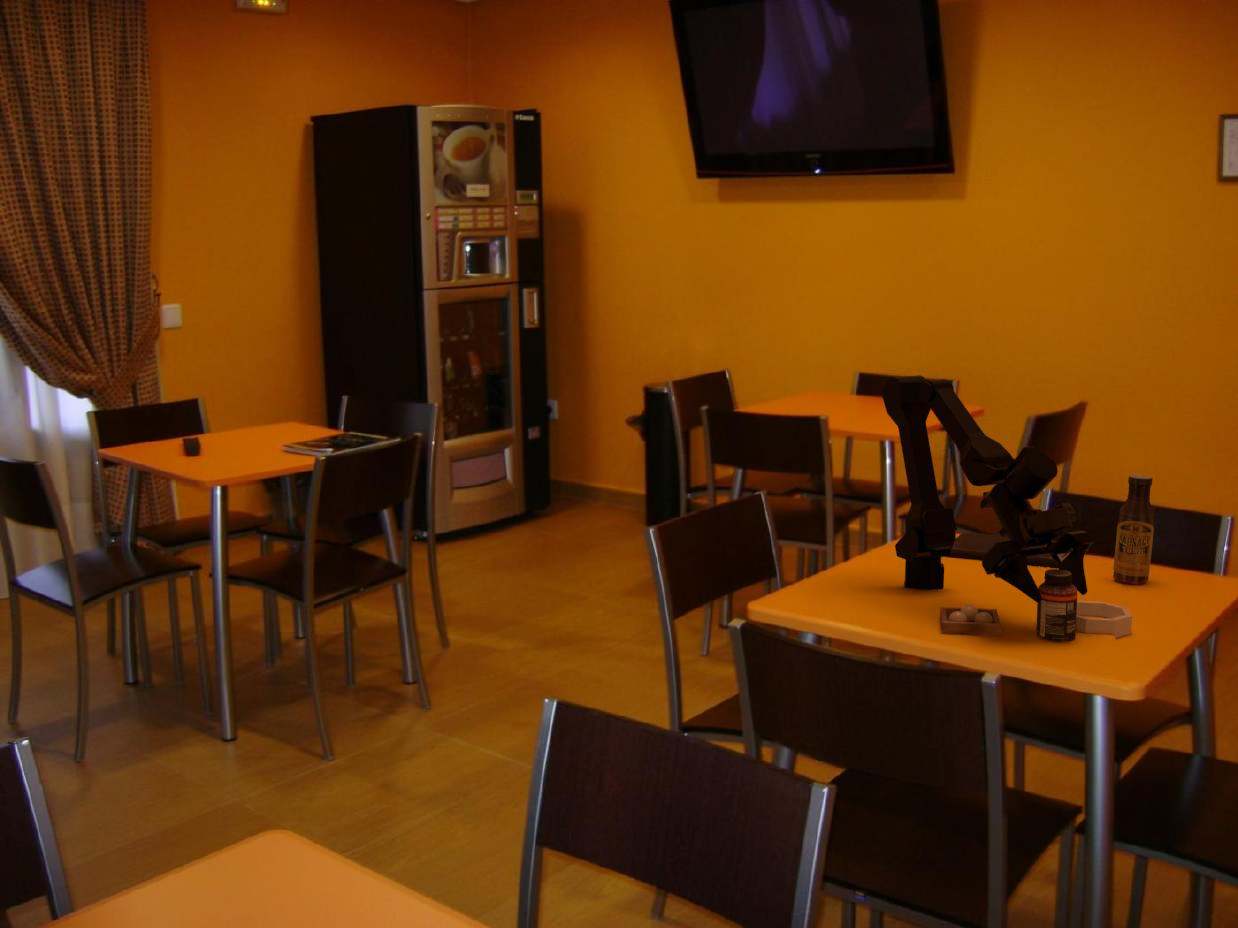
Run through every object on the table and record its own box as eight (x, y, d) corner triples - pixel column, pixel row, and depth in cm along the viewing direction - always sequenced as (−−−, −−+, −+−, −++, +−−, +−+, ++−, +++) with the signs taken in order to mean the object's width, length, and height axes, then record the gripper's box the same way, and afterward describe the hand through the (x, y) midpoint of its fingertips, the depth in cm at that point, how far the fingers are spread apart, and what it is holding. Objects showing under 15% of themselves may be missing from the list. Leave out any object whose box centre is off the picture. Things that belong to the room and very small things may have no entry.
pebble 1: (948, 631, 205) (949, 613, 204) (947, 626, 208) (948, 608, 207) (967, 632, 204) (968, 614, 204) (966, 627, 207) (967, 609, 207)
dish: (1064, 636, 204) (1065, 618, 204) (1056, 617, 214) (1057, 599, 214) (1134, 639, 202) (1135, 621, 202) (1123, 620, 212) (1124, 602, 212)
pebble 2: (960, 624, 208) (960, 607, 208) (959, 619, 211) (959, 602, 211) (979, 625, 208) (979, 608, 207) (977, 620, 211) (978, 602, 210)
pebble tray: (942, 638, 204) (942, 622, 204) (940, 621, 213) (940, 606, 212) (1000, 640, 202) (1001, 625, 202) (996, 624, 211) (996, 609, 211)
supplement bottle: (1042, 633, 206) (1045, 565, 204) (1080, 639, 203) (1083, 570, 201) (1030, 642, 201) (1033, 573, 199) (1068, 649, 198) (1072, 578, 196)
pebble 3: (974, 632, 204) (974, 614, 204) (973, 627, 207) (973, 609, 207) (993, 633, 204) (994, 615, 203) (992, 627, 206) (992, 610, 206)
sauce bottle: (1112, 584, 234) (1118, 477, 231) (1113, 575, 240) (1118, 472, 236) (1150, 587, 232) (1157, 480, 228) (1150, 578, 238) (1157, 473, 234)
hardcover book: (962, 542, 270) (963, 531, 269) (1076, 553, 259) (1077, 542, 259) (943, 559, 256) (944, 548, 256) (1063, 571, 245) (1063, 560, 245)
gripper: (996, 492, 198) (1044, 577, 190) (1087, 481, 205) (1137, 563, 197) (961, 532, 206) (1006, 615, 198) (1050, 520, 214) (1096, 599, 206)
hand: (1062, 597), depth 200 cm, fingers open, 9 cm apart
